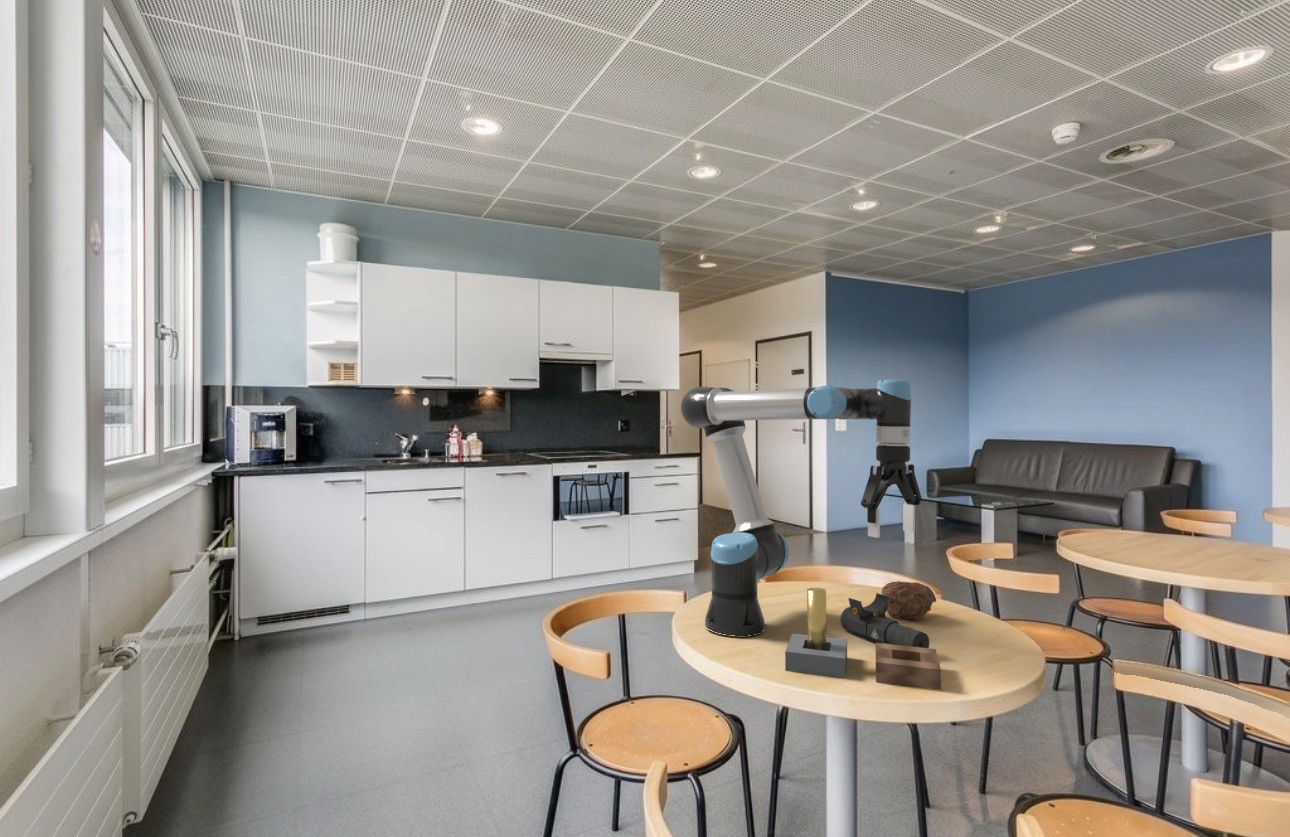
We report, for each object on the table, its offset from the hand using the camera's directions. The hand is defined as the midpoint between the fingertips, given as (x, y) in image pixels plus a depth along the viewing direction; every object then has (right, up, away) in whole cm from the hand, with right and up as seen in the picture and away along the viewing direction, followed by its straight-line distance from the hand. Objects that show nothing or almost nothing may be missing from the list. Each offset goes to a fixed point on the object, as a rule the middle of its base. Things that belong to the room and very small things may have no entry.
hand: (891, 534), depth 150 cm
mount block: (-21, -26, -13) cm, 36 cm away
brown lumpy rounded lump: (+12, -26, +20) cm, 35 cm away
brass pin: (-21, -26, -13) cm, 36 cm away
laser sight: (-2, -26, +1) cm, 26 cm away
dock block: (-4, -26, -19) cm, 32 cm away
